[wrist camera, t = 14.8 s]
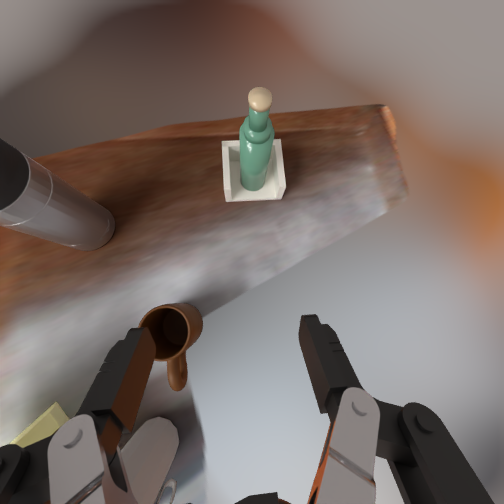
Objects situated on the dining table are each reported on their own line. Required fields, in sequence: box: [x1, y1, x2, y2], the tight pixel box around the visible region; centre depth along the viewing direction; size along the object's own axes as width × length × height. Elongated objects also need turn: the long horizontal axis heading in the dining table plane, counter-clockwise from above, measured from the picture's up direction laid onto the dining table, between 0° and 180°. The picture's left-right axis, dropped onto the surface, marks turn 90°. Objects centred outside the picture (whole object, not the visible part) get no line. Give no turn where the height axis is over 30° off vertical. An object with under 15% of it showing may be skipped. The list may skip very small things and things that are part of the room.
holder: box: [222, 139, 286, 202], centre depth 43 cm, size 10×11×5 cm
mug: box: [138, 303, 203, 391], centre depth 33 cm, size 12×8×9 cm, turn 15°
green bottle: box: [240, 87, 275, 191], centre depth 35 cm, size 5×5×19 cm
